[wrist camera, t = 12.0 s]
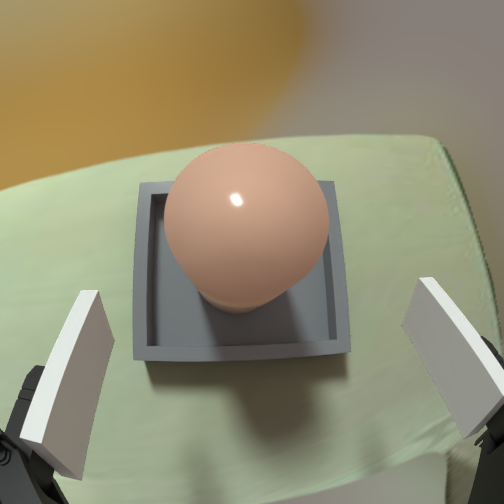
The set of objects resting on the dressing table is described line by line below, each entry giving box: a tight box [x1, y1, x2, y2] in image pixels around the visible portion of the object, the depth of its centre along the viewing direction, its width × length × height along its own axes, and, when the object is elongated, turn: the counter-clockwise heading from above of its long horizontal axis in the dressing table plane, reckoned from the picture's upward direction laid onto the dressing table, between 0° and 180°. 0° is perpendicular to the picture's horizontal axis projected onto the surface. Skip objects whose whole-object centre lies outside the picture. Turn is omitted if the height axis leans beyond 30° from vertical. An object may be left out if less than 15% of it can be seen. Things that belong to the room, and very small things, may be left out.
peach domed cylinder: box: [164, 143, 329, 314], centre depth 18 cm, size 6×6×12 cm
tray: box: [133, 181, 351, 362], centre depth 23 cm, size 15×13×2 cm
